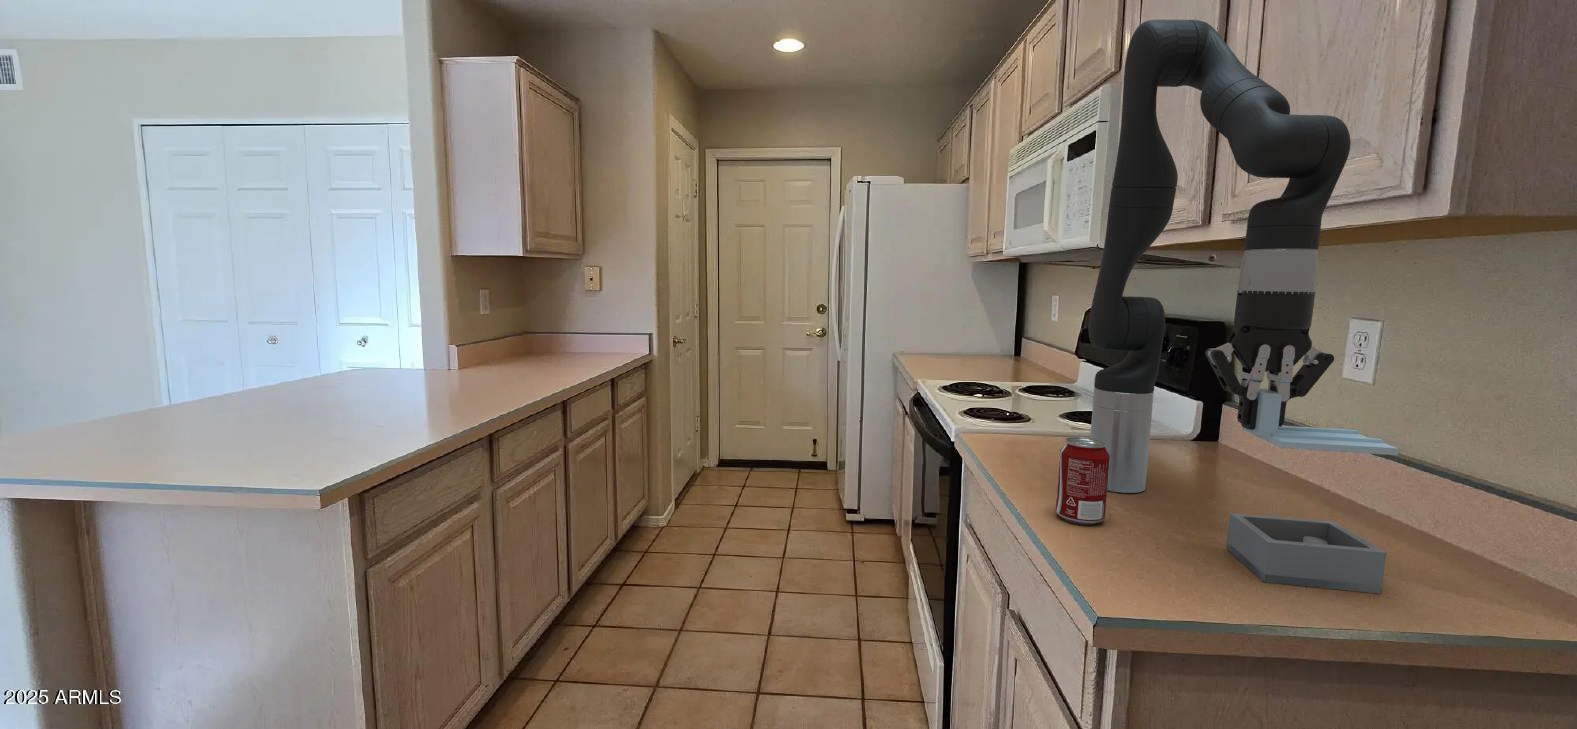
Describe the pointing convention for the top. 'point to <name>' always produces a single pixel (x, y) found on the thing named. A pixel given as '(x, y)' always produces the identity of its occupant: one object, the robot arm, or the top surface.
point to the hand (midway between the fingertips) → (1259, 428)
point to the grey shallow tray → (1305, 553)
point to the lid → (1309, 432)
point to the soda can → (1082, 480)
